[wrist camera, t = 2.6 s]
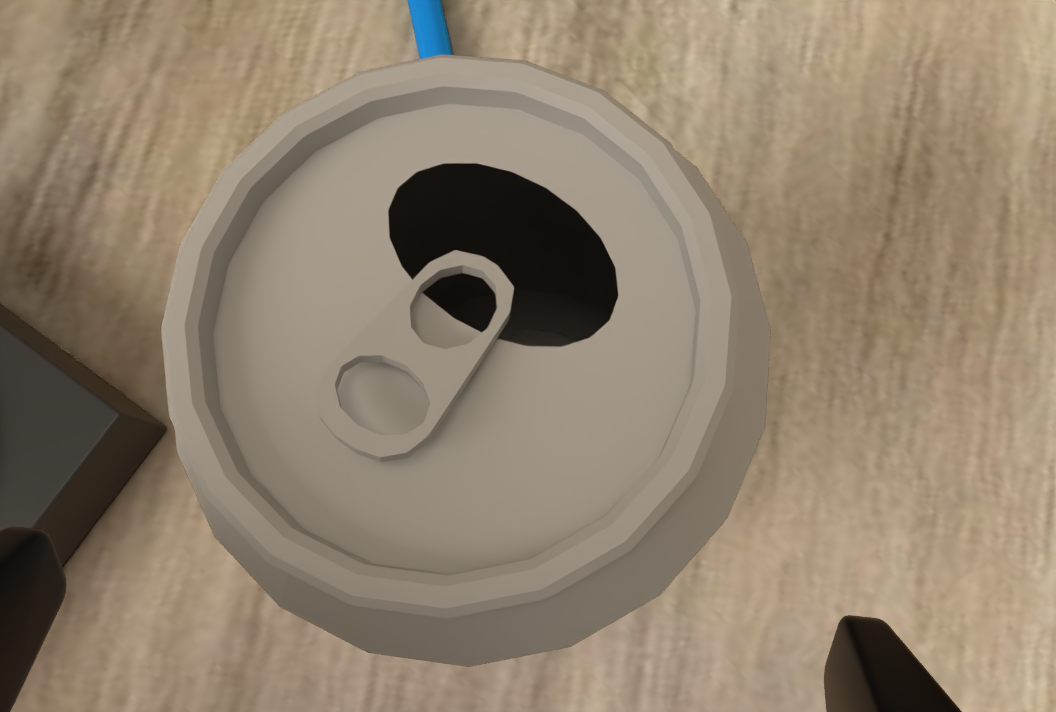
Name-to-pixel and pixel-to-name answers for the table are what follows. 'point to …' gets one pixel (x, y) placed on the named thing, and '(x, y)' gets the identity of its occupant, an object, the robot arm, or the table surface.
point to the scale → (61, 438)
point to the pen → (430, 28)
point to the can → (464, 360)
